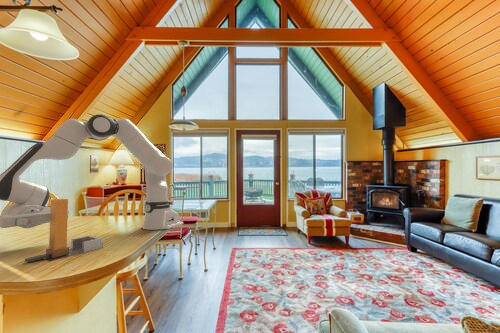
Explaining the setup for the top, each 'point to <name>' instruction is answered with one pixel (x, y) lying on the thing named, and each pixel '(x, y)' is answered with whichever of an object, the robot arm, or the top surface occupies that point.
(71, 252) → the rail plate
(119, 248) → the top surface
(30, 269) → the top surface
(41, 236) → the top surface
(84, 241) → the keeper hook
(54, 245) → the orange upright panel
